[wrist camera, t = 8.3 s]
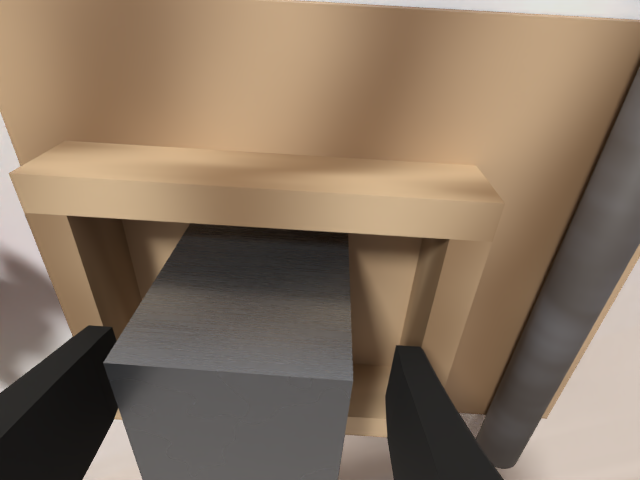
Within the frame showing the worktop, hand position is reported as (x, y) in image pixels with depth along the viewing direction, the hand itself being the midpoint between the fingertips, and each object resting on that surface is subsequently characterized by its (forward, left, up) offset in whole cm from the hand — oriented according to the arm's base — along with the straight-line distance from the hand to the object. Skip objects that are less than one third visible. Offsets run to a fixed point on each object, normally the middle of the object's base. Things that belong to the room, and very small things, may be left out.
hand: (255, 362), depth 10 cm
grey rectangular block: (0, 0, -3) cm, 3 cm away
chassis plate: (-2, -1, -4) cm, 5 cm away
